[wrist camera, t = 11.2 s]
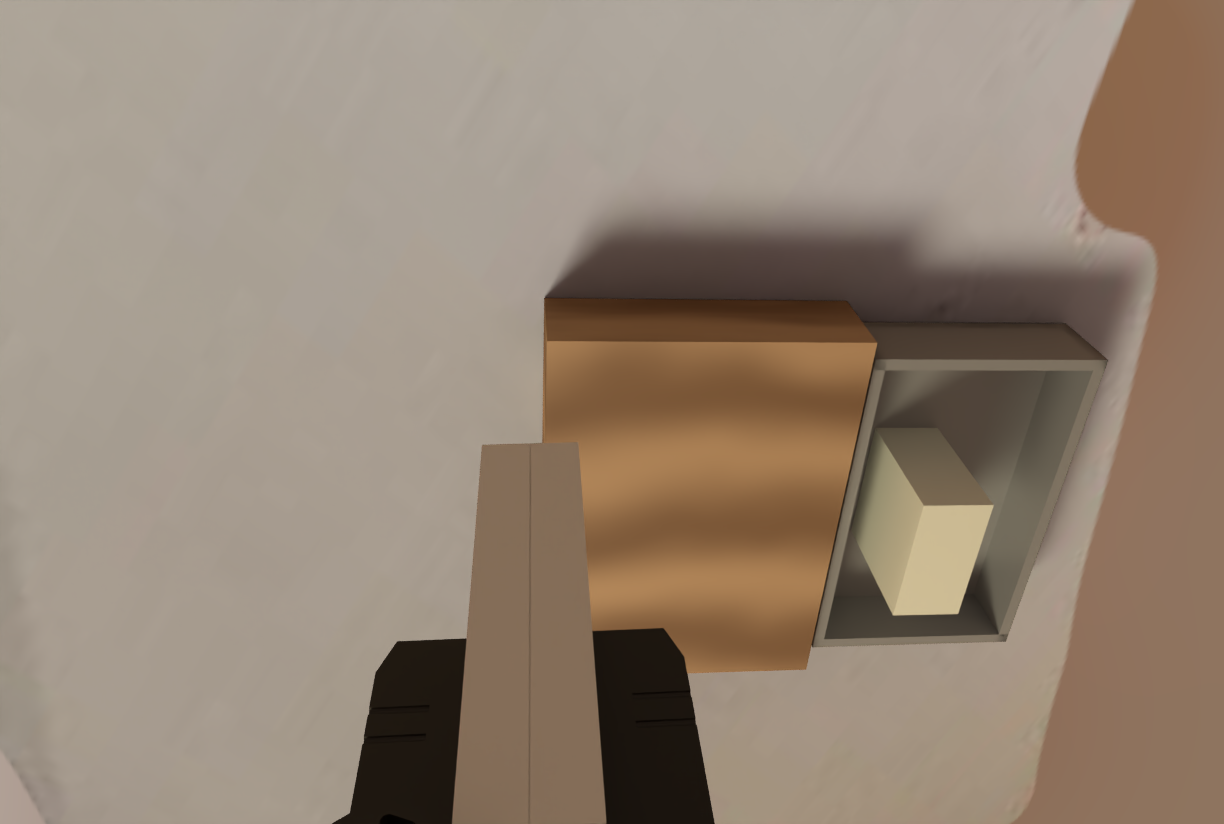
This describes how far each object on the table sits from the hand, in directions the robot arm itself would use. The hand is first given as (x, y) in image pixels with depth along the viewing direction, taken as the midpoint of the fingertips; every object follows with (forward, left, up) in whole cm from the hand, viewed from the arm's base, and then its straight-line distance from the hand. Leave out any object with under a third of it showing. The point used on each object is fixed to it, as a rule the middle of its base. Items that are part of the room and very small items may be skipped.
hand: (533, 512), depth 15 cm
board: (+16, +7, -24) cm, 29 cm away
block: (+16, +16, -20) cm, 30 cm away
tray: (+16, +19, -24) cm, 34 cm away
